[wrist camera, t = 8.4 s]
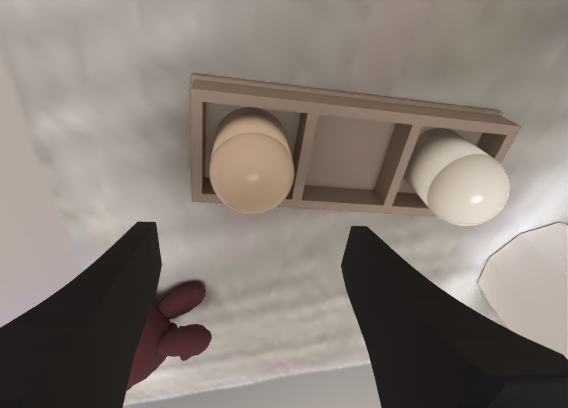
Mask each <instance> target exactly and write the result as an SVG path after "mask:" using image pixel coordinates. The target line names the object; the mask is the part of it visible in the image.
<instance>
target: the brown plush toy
mask: <svg viewBox="0 0 568 408" xmlns="http://www.w3.org/2000/svg"><path fill="white" fill-rule="evenodd" d="M205 293H206V291H205V288H204V287H203V286H202V285H201V284H197V283H193V284H190V285H186V286H183V287H180V288H178V289H177V290H175V291H174V292H172V293H171V294H169V295H168V296H167V297H165V298H164V299H163V300H162V301H161V302H160V303H159V304H158V306H157V305H155V304H153V303H152V306H151V309H150V312H149V315H148V318H147V320H146V323H145V326H144V329H143V332H142V335H141V338H140V341H139V344H138V347H137V350H136V353H135V356H134V360H133V364H132V368H131V372H130V377H129V381H128V385H127V389H126V391H127V390H129V389H130V388H131V387H132V386H133V385H135V384H137V383H139V382H141V381H142V380H144V379H146V378H147V377H148V376H149V375H150V374H151V373H152V372H153V371H155V370H156V369H157V368H158V367H159V365H160V364H161V363H162V362H163V361H164V360H165V359H166V357H167V356H172V357H175V356H180V358H181V360H183V361H185V360H187V359H189V358H190V357H191V356H195V355H199V354H200V353H202V352H203V351H204V350H206V348H207V347H208V345H209V343H210V341H211V338H212V337H211V333H210V331H209V330H207V329H206V328H205V327H204V326H203V325H198V324H193V325H187V326H180V327H179V328H178V327H177V325H176V324H175V323H173V322H172V323H171V322H170V320H169V319H171V318H175V317H178V316H180V315H182V314H185V313H187V312H189V311H190V310H192V309H193V308H194V307H196V306H197V305H198V304H200V303H201V302H202V300H203V298H204V297H205Z"/></svg>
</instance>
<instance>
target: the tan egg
mask: <svg viewBox="0 0 568 408" xmlns="http://www.w3.org/2000/svg"><path fill="white" fill-rule="evenodd" d="M209 174H210V181H211V185H212V187H213V190H214V192H215V193H216V195H217V197H218V198H219V199H220V200H221V201H222V202H223V203H224V204H225V205H226V206H228V207H229V208H231V209H233V210H235V211H237V212H240V213H244V214H260V213H264V212H267V211H270V210H272V209H274V208H275V207H277V206H278V205H279V204H280V203H281V202H282V201H283V200H284V199H285V198H286V197H287V195H288V193H289V192H290V189H291V187H292V184H293V180H294V165H293V160H292V157H291V153H290V149H289V146H288V142H287V139H286V135H285V132H284V129H283V126H282V125H281V123H280V122H279V120H278V119H277V118H276V117H275V116H274V115H273V114H271V113H270V112H268V111H266V110H264V109H261V108H255V107H243V108H239V109H236V110H234V111H232V112H230V113H229V114H228V115H226V116H225V117H224V118H223V119H222V121H221V122H220V123H219V125H218V127H217V130H216V134H215V140H214V145H213V151H212V156H211V162H210V171H209Z"/></svg>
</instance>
